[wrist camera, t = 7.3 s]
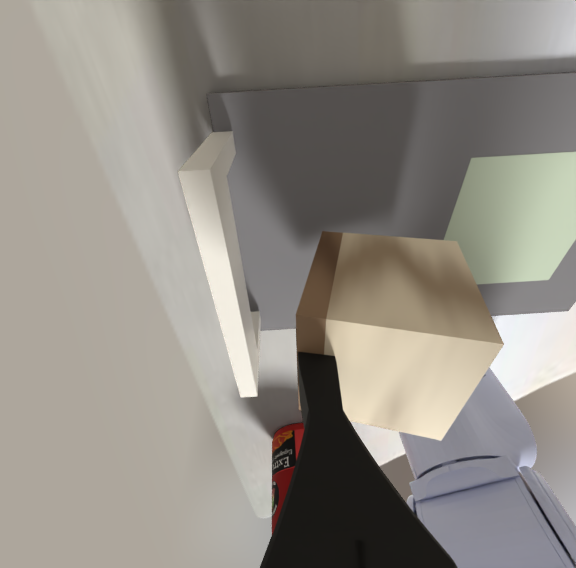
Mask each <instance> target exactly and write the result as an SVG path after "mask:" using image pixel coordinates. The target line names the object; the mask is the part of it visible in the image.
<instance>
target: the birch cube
mask: <svg viewBox="0 0 576 568" xmlns="http://www.w3.org/2000/svg"><path fill="white" fill-rule="evenodd" d="M296 342H297V372H298V352H307V353H315V354H323V355H331V356H335V358H336V361H337V369H338V376H339V383H340V391H341V398H342V406H343V410H344V412H345V414H346V416H347V417H348V419H349V421H352V422H357V423H362V424H366V425H371V426H376V427H380V428H385V429H389V430H394V431H399V432H403V433H408V434H413V435H417V436H422V437H426V438H431V439H436V440H440V441H442V439H443V437H444V436H445V434H446V433H447V431H448V430H449V428H450V427H451V425H452V424H453V422H454V421H455V419H456V417H457V416H458V414H459V413H460V411H461V410H462V408H463V407H464V405H465V404H466V402H467V400H468V399H469V397H470V396H471V394H472V393H473V391H474V390H475V388H476V387H477V385H478V384H479V382H480V380H481V379H482V377H483V376H484V374H485V373H486V371H487V370H488V368H489V367H490V365H491V363H492V362H493V360H494V359H495V357H496V356H497V354H498V353H499V351H500V350H501V348H502V347H503V345H504V343H503V341H502V339H501V337H500V335H499V332H498V330H497V328H496V326H495V324H494V321H493V319H492V317H491V315H490V313H489V310H488V308H487V306H486V304H485V302H484V300H483V297H482V295H481V293H480V291H479V289H478V286H477V284H476V282H475V280H474V278H473V275H472V273H471V271H470V269H469V267H468V264H467V262H466V260H465V258H464V256H463V253H462V251H461V249H460V247H459V245H458V242H457V241H448V240H434V239H421V238H408V237H395V236H381V235H368V234H355V233H342V232H328V231H322V234H321V237H320V240H319V243H318V246H317V250H316V253H315V256H314V259H313V262H312V265H311V268H310V271H309V275H308V278H307V281H306V284H305V287H304V290H303V293H302V296H301V300H300V303H299V306H298V309H297V312H296ZM298 403H299V410H301V406H300V396H299V379H298Z"/></svg>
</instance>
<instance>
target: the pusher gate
mask: <svg viewBox="0 0 576 568" xmlns="http://www.w3.org/2000/svg"><path fill="white" fill-rule="evenodd" d="M235 154H236V151H235V144H234V137H233V131H226V132H212V133H211V134H210V135H209V136H208V137H207V139H206V140H205V141H204V142H203V143H202V144H201V145H200V147H199V148H198V149H197V150H196V151H195V152H194V153H193V155H192V156H191V157H190V158H189V159H188V160H187V161H186V163H185V164H184V165H183V166H182V167H181V168H180V169H179V171H178V175H179V178H180V182H181V186H182V189H183V193H184V196H185V200H186V203H187V207H188V211H189V214H190V218H191V221H192V225H193V229H194V232H195V236H196V239H197V243H198V246H199V250H200V254H201V257H202V261H203V264H204V268H205V272H206V275H207V279H208V282H209V286H210V289H211V293H212V297H213V300H214V304H215V307H216V311H217V314H218V318H219V322H220V325H221V329H222V332H223V336H224V340H225V343H226V347H227V350H228V354H229V357H230V361H231V365H232V368H233V372H234V375H235V379H236V383H237V386H238V390H239V393H240V397H256V396H258V373H259V351H260V328H261V319H260V312H259V311H255V312H251V311H250V306H249V300H248V294H247V289H246V283H245V277H244V272H243V266H242V260H241V254H240V249H239V243H238V237H237V232H236V226H235V220H234V215H233V209H232V203H231V198H230V192H229V186H228V181H227V174H228V172H229V169H230V167H231V164H232V162H233V159H234V157H235Z"/></svg>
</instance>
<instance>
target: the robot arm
mask: <svg viewBox="0 0 576 568" xmlns="http://www.w3.org/2000/svg"><path fill="white" fill-rule="evenodd" d="M298 379H299V396H300V406H301V412H302V418H303V424H304V433H303V437H302V441H301V445H300V449H299V453H298V457H297V460H296V464H295V467H294V471H293V474H292V477H291V481H290V484H289V487H288V490H287V493H286V496H285V499H284V502H283V505H282V508H281V511H280V514H279V517H278V520H277V523H276V526H275V528H274V531H273V534H272V537H271V539H270V542H269V545H268V547H267V550H266V553H265V556H264V558H263V561H262V563H261V566H260V568H576V526H575V525H574V523H573V521H572V520H571V518H570V517H569V515H568V514H567V512H566V511H565V509H564V508H563V506H562V505H561V503H560V501H559V500H558V498H557V497H556V495H555V494H554V492H553V491H552V489H551V488H550V486H549V485H548V483H547V482H546V480H545V479H544V477H543V475H542V474H541V473H539V472H537V471H535V470H531V467H532V466H533V465H534V463H535V460H536V456H537V447H536V442H535V439H534V436H533V433H532V430H531V428H530V426H529V424H528V422H527V420H526V418H525V417H524V415H523V414H522V412H521V411H520V410H519V408H518V407H517V405H516V404H515V403H514V401H513V400H512V398H511V397H510V396H509V394H508V393H507V391H506V390H505V389H504V387H503V386H502V384H501V383H500V382H499V380H498V379H497V377H496V376H495V375H494V373H493V372H492V370H491V369H490V368H488V370H487V371H486V373H485V374H484V376H483V377H482V379H481V380H480V382H479V384H478V385H477V387H476V388H475V390H474V391H473V393H472V394H471V396H470V397H469V399H468V400H467V402H466V404H465V405H464V407H463V408H462V410H461V411H460V413H459V414H458V416H457V417H456V419H455V421H454V422H453V424H452V425H451V427H450V428H449V430H448V431H447V433H446V434H445V436H444V437H443V439H442V441H440V440H436V439H431V438H426V437H422V436H417V435H413V434H408V433H403V432H399V434H400V437H401V440H402V443H403V446H404V449H405V452H406V455H407V458H408V461H409V463H410V466H411V469H412V472H413V475H414V478H415V481H412V482H410V483H409V484H410V488H411V491H412V494H413V495H410V496H409V497H408V499H407V503H406V502H405V501H404V500H403V498H402V497H401V495H400V494H399V493H398V491H397V490H396V489H395V488H394V486H393V485H392V483H391V482H390V481H389V479H388V478H387V477H386V475H385V474H384V473H383V471H382V470H381V469H380V467H379V466H378V464H377V463H376V461H375V460H374V458H373V457H372V455H371V454H370V453H369V451H368V450H367V448H366V447H365V445H364V443H363V442H362V440H361V439H360V437H359V436H358V434H357V432H356V431H355V429H354V428H353V426H352V424H351V423H350V421H349V419H348V417H347V416H346V414H345V412H344V410H343V406H342V398H341V391H340V383H339V376H338V369H337V361H336V358H335V356H331V355H323V354H315V353H307V352H298ZM523 476H524V477H523Z"/></svg>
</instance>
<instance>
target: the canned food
mask: <svg viewBox="0 0 576 568" xmlns="http://www.w3.org/2000/svg"><path fill="white" fill-rule="evenodd" d="M303 433H304V424H303V423H296V424H291V425H287V426H285V427H283V428H281V429H279V430H278V431H277V432H276V433H275V435H274V438H273V442H272V534H273V531H274V528H275V526H276V523H277V520H278V517H279V514H280V511H281V508H282V505H283V502H284V499H285V496H286V493H287V490H288V487H289V484H290V481H291V477H292V474H293V471H294V467H295V464H296V460H297V457H298V453H299V449H300V445H301V441H302V437H303Z"/></svg>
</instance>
